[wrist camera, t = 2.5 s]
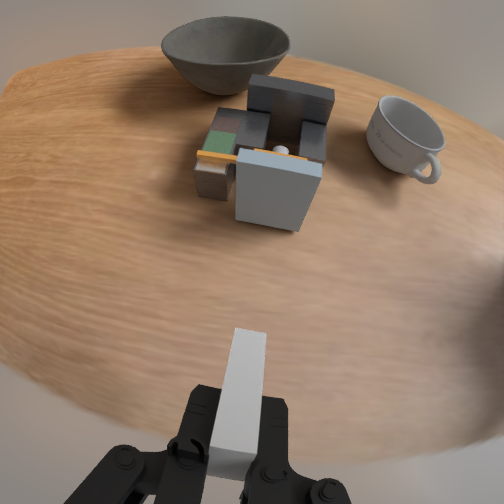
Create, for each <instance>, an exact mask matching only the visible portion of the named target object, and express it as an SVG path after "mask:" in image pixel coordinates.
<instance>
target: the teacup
mask: <svg viewBox="0 0 504 504" xmlns="http://www.w3.org/2000/svg"><path fill="white" fill-rule="evenodd" d="M367 141H368V144H369V147H370V149H371V150H372V152H373V154H374V155H375V157H376V158H377V159H378V160H379V162H380V163H382V164H383V165H384V166H385V167H387V168H388V169H390V170H392V171H395V172H399V173H403V174H408V175H409V176H410V177H411V178H416V179H417V180H418V181H420V182H422V183H424V184H434V183H436V182H437V181H438V180H439V178H440V176H441V164H440V162H439V160H438V159H437V158H436V157H435V156H436V155H437V154H438V153H439V152H440V151H441V150H442V149H443V148H444V146H445V137H444V134H443V132H442V130H441V128H440V127H439V125H438V124H437V122H436V121H435V120H434V119H433V118H432V117H431V116H430V115H429V114H428V113H427V112H426V111H424V110H423V109H422V108H420V107H419V106H417V105H416V104H414V103H412V102H411V101H408V100H406V99H403V98H401V97H398V96H391V95H389V96H383V97H382V98H381V99H380V100H379V102H378V106H377V108H376V110H375V112H374V114H373V116H372V118H371V120H370V122H369V125H368V128H367ZM429 163H430V164H431V166H432V172H431V175H430V176H429V177H425V176H424V175H422V174H421V173H420V171H422V170H423V169H424V168H425V167H427V165H428V164H429Z"/></svg>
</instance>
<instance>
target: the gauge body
mask: <svg viewBox="0 0 504 504" xmlns="http://www.w3.org/2000/svg"><path fill="white" fill-rule="evenodd" d="M334 101H335V96H334V89H330V88H326V87H322V86H317V85H313V84H308V83H304V82H299V81H294V80H288V79H283V78H277V77H271V76H265V75H258V74H252V76H251V78H250V81H249V84H248V98H247V111H245V110H237V109H230V108H221V107H219V108H218V110H217V112H216V115H215V117H214V119H213V122H212V124H211V127H210V129H209V131H208V134H207V136H206V139H205V141H204V144H203V146H202V149H201V151H208V152H215V153H222V154H229V155H235V156H238V153H239V150H240V148H243V149H249V150H254V149H255V148H256V149H262V150H265V148H266V143H267V140H269V141H275V142H280V143H285V144H290V145H295V146H296V152H295V156H298V157H303V158H307V161H311V162H316V163H320V164H322V168H323V166H324V163H325V159H326V130H327V126H326V125H327V122H328V119H329V116H330V113H331V110H332V107H333V104H334ZM193 171H194V177H195V182H196V187H197V193H198V196H200V197H206V198H212V199H218V200H224V201H227V200H228V196H229V193H230V189H231V185H232V182H233V178H234V174H235V171H236V164H234V163H227V162H221V161H214V160H207V159H200V158H198V159H197V162H196V164H195V167H194V170H193Z"/></svg>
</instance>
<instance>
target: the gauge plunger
mask: <svg viewBox="0 0 504 504" xmlns="http://www.w3.org/2000/svg"><path fill="white" fill-rule="evenodd" d="M273 152H278V153H283V154H288V153H289V151H288V149H287V148H286V147H284V146H276V147H274V148H273ZM321 178H322V164H320V163H316V162H311V161H307V160H302V159H297V158H292V157H287V156H282V155H277V154H272V153H266V152H261V151H255V150H249V149H243V148H240V150H239V153H238V157H237V160H236V213H235V220H239V221H244V222H249V223H255V224H260V225H265V226H271V227H276V228H281V229H286V230H291V231H296V232H299V229H300V227H301V225H302V222H303V220H304V218H305V216H306V213H307V211H308V209H309V206H310V204H311V202H312V199H313V197H314V195H315V192H316V190H317V188H318V185H319V183H320V181H321Z"/></svg>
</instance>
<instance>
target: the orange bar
mask: <svg viewBox="0 0 504 504" xmlns="http://www.w3.org/2000/svg"><path fill="white" fill-rule="evenodd" d="M254 150H255V151H261V152H266V153H272V154H277V155H282V156H287V157H292V158H297V159H302V160H307V158H303V157H298V156H293V155H288V154H283V153H278V152H273V151H267V150H262V149H256V148H255V149H254ZM196 155H197V158H200V159H207V160H214V161H221V162H227V163H234V164H236V160H237V157H238V156H235V155H229V154H222V153H215V152H208V151H200V150H198V152H197V154H196Z"/></svg>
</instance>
